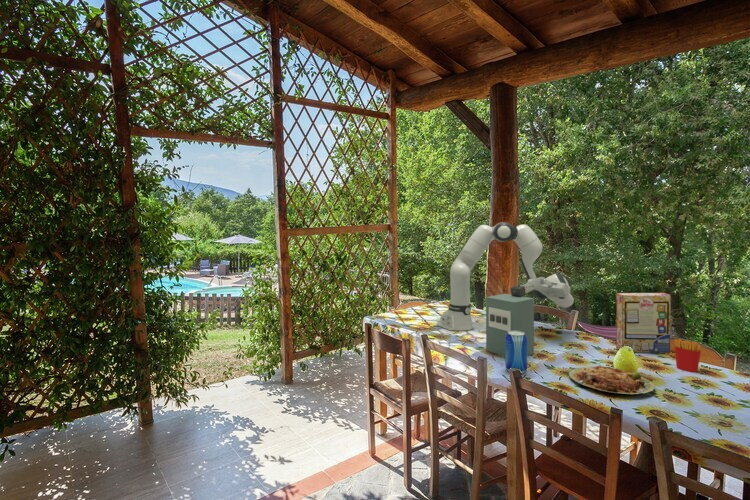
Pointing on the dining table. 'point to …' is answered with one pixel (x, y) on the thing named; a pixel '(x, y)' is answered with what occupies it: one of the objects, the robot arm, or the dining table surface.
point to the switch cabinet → (508, 321)
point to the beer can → (516, 351)
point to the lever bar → (526, 287)
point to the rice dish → (611, 380)
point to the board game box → (643, 322)
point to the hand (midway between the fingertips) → (539, 280)
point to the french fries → (687, 355)
